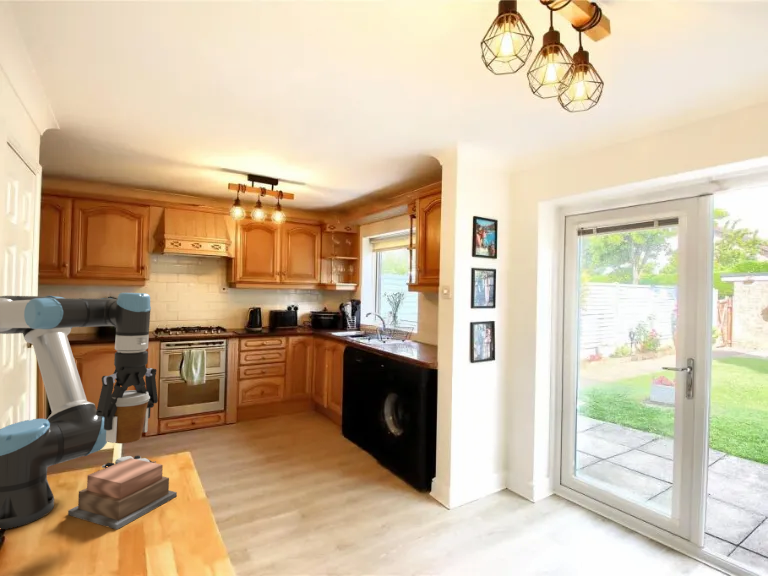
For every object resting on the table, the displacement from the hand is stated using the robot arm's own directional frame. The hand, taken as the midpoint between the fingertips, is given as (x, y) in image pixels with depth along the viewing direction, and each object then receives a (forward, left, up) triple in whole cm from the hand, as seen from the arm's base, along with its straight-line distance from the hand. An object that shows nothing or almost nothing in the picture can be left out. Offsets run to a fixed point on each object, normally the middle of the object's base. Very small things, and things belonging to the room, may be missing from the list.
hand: (127, 436), depth 106 cm
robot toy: (-23, +19, -21) cm, 36 cm away
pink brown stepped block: (-5, +4, -21) cm, 22 cm away
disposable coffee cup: (0, 0, -1) cm, 1 cm away
